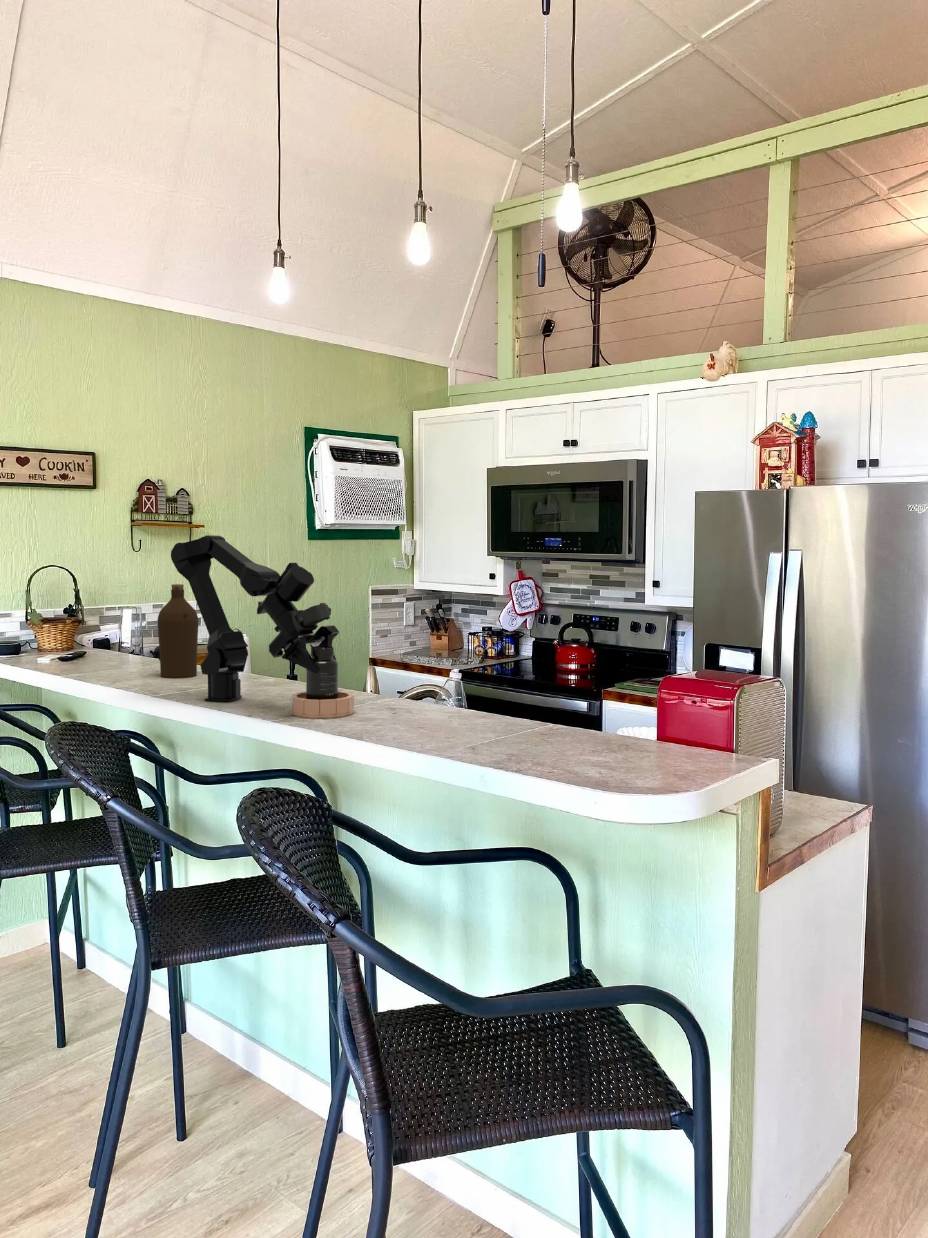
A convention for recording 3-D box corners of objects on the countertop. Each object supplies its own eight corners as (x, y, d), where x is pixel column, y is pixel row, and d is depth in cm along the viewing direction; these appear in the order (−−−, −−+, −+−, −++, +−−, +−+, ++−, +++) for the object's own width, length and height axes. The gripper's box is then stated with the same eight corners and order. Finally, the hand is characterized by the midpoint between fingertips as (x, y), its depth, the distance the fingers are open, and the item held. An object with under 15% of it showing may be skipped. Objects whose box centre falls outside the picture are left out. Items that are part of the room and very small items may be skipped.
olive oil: (207, 674, 249) (206, 584, 247) (182, 679, 239) (181, 585, 237) (175, 672, 253) (173, 583, 251) (149, 677, 243) (148, 584, 241)
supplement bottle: (300, 701, 195) (300, 646, 194) (328, 698, 199) (328, 644, 198) (315, 706, 189) (315, 649, 188) (344, 703, 193) (344, 647, 192)
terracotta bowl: (282, 716, 189) (282, 698, 189) (305, 706, 202) (305, 689, 201) (341, 719, 186) (341, 701, 186) (360, 709, 199) (360, 691, 199)
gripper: (280, 592, 185) (324, 649, 181) (332, 589, 202) (373, 641, 198) (249, 628, 189) (292, 685, 186) (303, 622, 206) (343, 674, 202)
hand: (327, 670), depth 193 cm, fingers closed on supplement bottle, 7 cm apart
